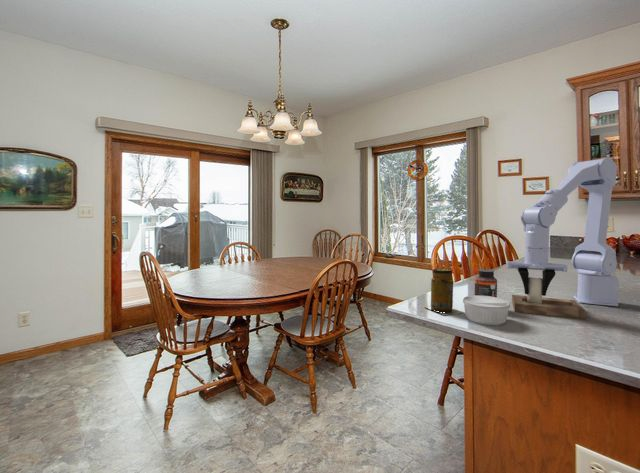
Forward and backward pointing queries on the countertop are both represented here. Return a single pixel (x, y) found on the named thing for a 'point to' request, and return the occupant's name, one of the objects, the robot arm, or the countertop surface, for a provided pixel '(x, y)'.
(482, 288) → the supplement bottle
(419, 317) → the countertop surface
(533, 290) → the cream peg
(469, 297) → the ramekin
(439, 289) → the condiment
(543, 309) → the keyhole board
